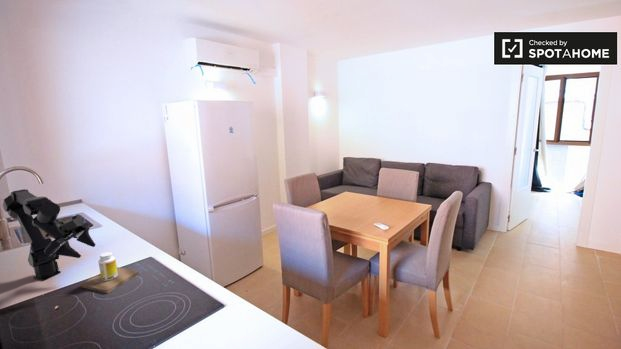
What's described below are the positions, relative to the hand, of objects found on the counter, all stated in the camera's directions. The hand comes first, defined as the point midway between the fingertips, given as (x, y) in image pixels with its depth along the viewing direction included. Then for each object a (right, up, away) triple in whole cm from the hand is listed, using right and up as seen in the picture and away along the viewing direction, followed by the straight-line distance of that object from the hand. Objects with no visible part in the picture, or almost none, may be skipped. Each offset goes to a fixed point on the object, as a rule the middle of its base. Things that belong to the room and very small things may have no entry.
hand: (87, 251), depth 118 cm
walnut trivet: (+7, -12, +3) cm, 15 cm away
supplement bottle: (+7, -11, +3) cm, 14 cm away
